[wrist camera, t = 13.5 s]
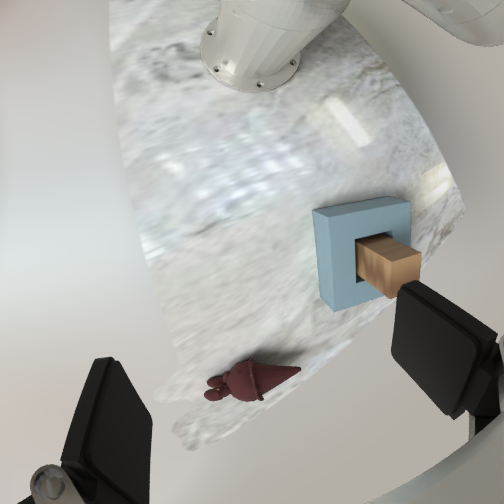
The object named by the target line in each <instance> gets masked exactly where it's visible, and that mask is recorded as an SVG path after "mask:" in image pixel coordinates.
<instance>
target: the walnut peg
mask: <svg viewBox="0 0 504 504" xmlns="http://www.w3.org/2000/svg"><path fill="white" fill-rule="evenodd" d="M354 240H355V265H356V274H357V275H359V276H360V277H361V278H363V279H364V280H365V281H367V282H368V283H369V284H371V285H372V286H373V287H375V288H376V289H377V290H378V291H380V292H381V293H382V294H384V295H385V296H386V297H387V298H389V299H392V298H394V297H397V292H398V291H399V290H400V287H401V285H402V284H405V283H407V282H410V281H413V280H418V281H419V278H420V267H421V252H419V251H417V250H415V249H412V248H410V247H408V246H406V245H404V244H402V243H400V242H398V241H396V240H394V239H391V238H389V237H387V236H385V235H383V234H380V233H378V234H374V235H370V236H366V237H362V238H357V239H354Z"/></svg>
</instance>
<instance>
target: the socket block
mask: <svg viewBox="0 0 504 504" xmlns="http://www.w3.org/2000/svg"><path fill="white" fill-rule="evenodd" d="M312 214H313V223H314V232H315V242H316V252H317V264H318V275H319V289H320V297H321V298H322V299H323V300H324V301H325V302H326V304H327V305H328V306H329V307H330V308H331V309H332V310H333V311H334V312H336V311H340V310H343V309H346V308H349V307H352V306H355V305H358V304H361V303H364V302H367V301H370V300H373V299H376V298H379V297H382V296H384V294H382V293H381V292H380V291H378V290H377V289H376V288H375V287H373V286H372V285H371V284H369V283H368V282H367V281H365V280H364V279H363V278H361V277H360V276H359V275H357V274H356V265H355V240H354V239H357V238H362V237H366V236H370V235H374V234H378V233H380V234H383V235H385V236H387V237H389V238H391V239H394V240H396V241H398V242H400V243H402V244H404V245H406V246H408V247H410V243H411V211H410V201H406V200H402V199H398V198H394V197H390V196H388V197H382V198H376V199H370V200H365V201H359V202H354V203H348V204H343V205H337V206H332V207H326V208H321V209H316V210H312Z"/></svg>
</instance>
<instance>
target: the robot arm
mask: <svg viewBox="0 0 504 504" xmlns="http://www.w3.org/2000/svg"><path fill="white" fill-rule="evenodd" d="M402 1H404V2H405V3H407V4H408V5H410V6H412V7H413V8H414V9H416V10H417V11H419V12H420V13H422V14H423V15H424V16H426V17H427V18H429V19H430V20H432V21H433V22H435V23H436V24H437V25H439V26H440V27H441V28H443V29H444V30H446V31H447V32H449V33H450V34H452V35H453V36H455V37H457V38H458V39H460V40H462V41H464V42H467V43H470V44H473V45H476V46H483V47H493V46H499V45H502V44H504V0H402ZM349 2H350V0H221V5H220V10H219V15H218V17H217V18H216V19H214V20H213V21H212V22H211V23H210V24H209V25H208V27H207V28H206V29H205V31H204V33H203V36H202V39H201V46H200V52H201V58H202V61H203V63H204V65H205V67H206V69H207V70H208V71H209V73H210V74H211V75H212V76H213V77H214V78H215V79H216V80H218V81H219V82H221V83H222V84H224V85H225V86H228V87H230V88H232V89H235V90H239V91H243V92H263V91H267V90H271V89H274V88H276V87H278V86H280V85H282V84H283V83H285V82H286V81H287V80H288V79H289V78H291V76H292V75H293V74H294V73H295V71H296V70H297V68H298V66H299V63H300V58H301V50H302V49H303V48H304V47H305V46H306V45H307V44H308V43H309V42H311V41H312V40H313V39H314V38H315V37H316V36H317V35H318V34H319V33H320V32H322V31H323V30H324V29H325V28H326V27H327V26H328V25H330V24H331V23H332V22H333V21H334V20H335V19H336V18H338V17H339V16H340V15H341V14H342V13H343V12H344V10H345V9H346V7H347V6H348V4H349ZM209 34H212V35H209ZM290 63H292V65H293V66H292V65H291V64H290ZM215 70H218V71H219V72H215ZM257 85H260V88H259V87H257ZM497 335H498V334H497V333H496V332H495V331H493V330H492V329H490V328H489V327H488V326H486V325H485V324H483V323H482V322H480V321H479V320H478V319H476V318H475V317H473V316H472V315H470V314H469V313H467V312H466V311H464V310H463V309H461V308H460V307H458V306H457V305H455V304H454V303H452V302H451V301H449V300H448V299H446V298H445V297H443V296H442V295H440V294H438V293H437V292H435V291H434V290H432V289H431V288H429V287H428V286H426V285H424V284H423V283H421V282H420V281H418V280H413V281H410V282H407V283H405V284H402V285H401V287H400V290H399V291H398V292H397V301H396V313H395V322H394V332H393V339H392V346H391V354H392V356H393V358H394V359H395V361H396V362H397V363H398V364H399V365H400V366H401V367H402V368H403V369H404V370H405V371H406V372H407V373H408V375H409V376H410V377H411V378H412V379H413V380H414V381H415V382H416V383H417V384H418V385H419V387H420V388H421V389H422V390H423V391H424V392H425V393H426V394H427V395H428V397H429V398H430V399H431V400H432V401H433V402H434V403H435V404H436V405H437V407H438V408H439V409H440V410H441V411H442V412H443V413H444V414H445V415H449V416H450V417H451V418H452V419H453V420H455V419H456V418H458V417H459V416H460V415H461V414H463V413H464V412H465V410H467V411H468V412H469V441H468V442H467V443H466V444H465V445H463V446H462V447H460V448H459V449H458V450H456V451H455V452H454V453H452V454H451V455H450V456H448V457H447V458H445V459H444V460H442V461H441V462H439V463H438V464H436V465H435V466H433V467H432V468H430V469H429V470H427V471H426V472H424V473H422V474H421V475H419V476H417V477H416V478H414V479H412V480H411V481H409V482H407V483H405V484H403V485H402V486H400V487H398V488H396V489H394V490H392V491H390V492H388V493H386V494H384V495H382V496H380V497H378V498H376V499H374V500H372V501H370V502H367V503H365V504H504V335H503V336H502V337H501V338H500V341H499V344H498V343H496V342H495V341H496V338H497ZM152 425H153V424H152V418H151V415H150V413H149V412H148V410H147V408H146V407H145V405H144V404H143V402H142V400H141V399H140V397H139V395H138V394H137V392H136V390H135V388H134V387H133V385H132V383H131V381H130V380H129V378H128V376H127V374H126V372H125V371H124V369H123V367H122V365H121V363H120V362H119V361H115V360H114V358H112V357H105V358H98V359H95V360H94V362H93V364H92V367H91V369H90V372H89V374H88V377H87V380H86V382H85V385H84V388H83V390H82V393H81V396H80V399H79V401H78V404H77V407H76V410H75V413H74V416H73V419H72V422H71V425H70V428H69V432H68V435H67V438H66V442H65V445H64V449H63V452H62V456H61V459H60V460H61V461H62V464H61V467H59V466H57V465H53V464H50V465H45V466H42V467H40V468H39V469H38V470H37V471H36V472H35V473H34V474H33V476H32V478H31V481H30V490H31V494H32V495H30V496H29V497H27V498H26V499H24V500H23V501H21V502H19V503H18V504H149V489H150V485H149V484H150V457H151V439H152Z"/></svg>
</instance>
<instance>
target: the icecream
mask: <svg viewBox="0 0 504 504" xmlns="http://www.w3.org/2000/svg"><path fill="white" fill-rule="evenodd" d="M299 371H301V367H293V366H278V365H266V364H256V363H254V362H253V359H251V358H250V359H249V360H248V361H244V362H241V363H237V364H236V365H235V366H234V367H233V368H232V369H231V370H230V371H226V372H225V373H224V375H223V377H214V378H211V379H209V380H208V381H207V384H208V386H210V387H212V388H213V389H209V390H207V391H206V392H205V393H204V397H205V398H206V399H208V400H209V401H218V400H221V399H223V397H226V396H228V395H229V394H232V396H233V397H235V398H237V399H239V400H242V401H246V402H248V401H255V400H257V399H258V400H259V401H263V400H264V398H263V397H262V395H263V394H265V393H266V392H268V391H270V390H271V389H273V388H274V387H276V386H278V385H279V384H281V383H282V382H284V381H286V380H287V379H289V378H290V377H292V376H293V375H295V374H297V373H298V372H299Z"/></svg>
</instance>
